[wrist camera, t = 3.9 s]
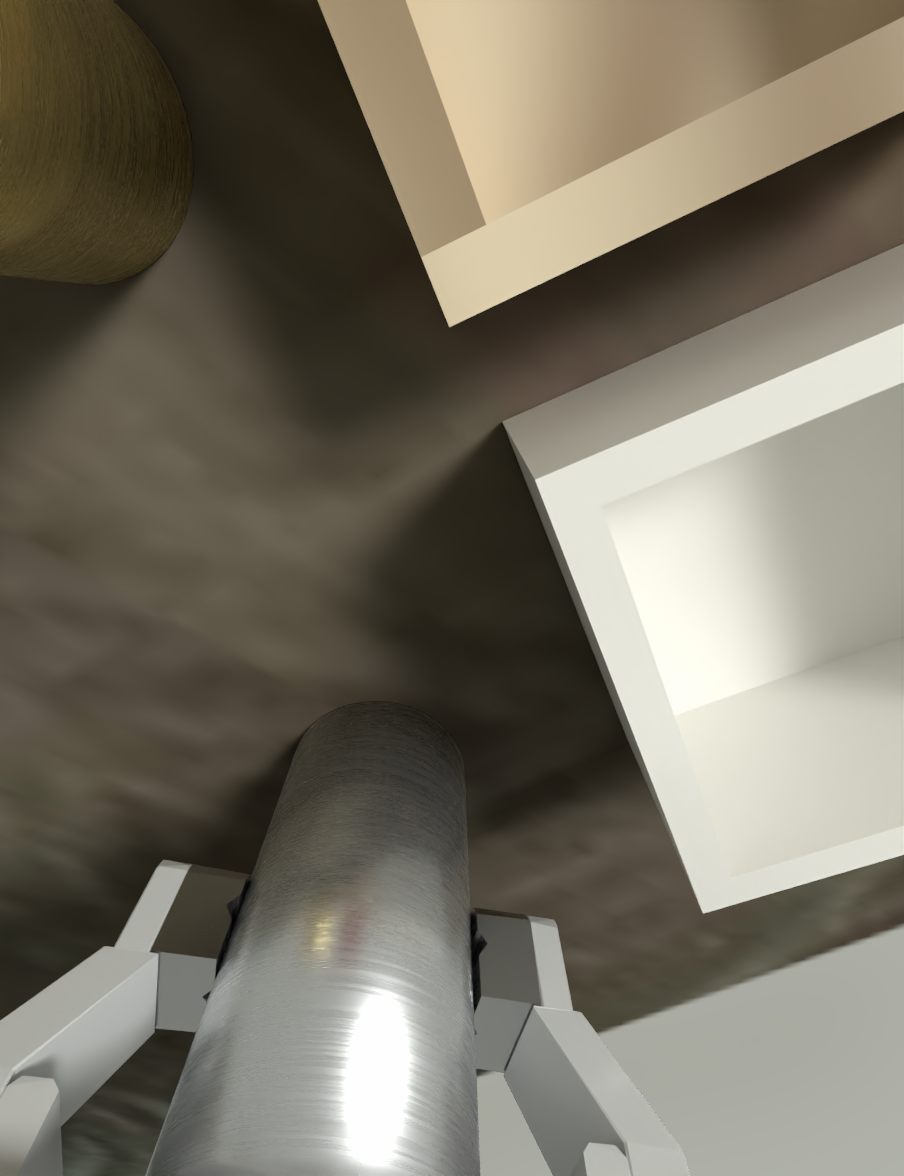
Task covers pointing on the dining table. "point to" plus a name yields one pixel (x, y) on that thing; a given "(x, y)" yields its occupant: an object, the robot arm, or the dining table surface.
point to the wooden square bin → (597, 116)
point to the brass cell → (87, 144)
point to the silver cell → (344, 973)
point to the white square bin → (748, 576)
